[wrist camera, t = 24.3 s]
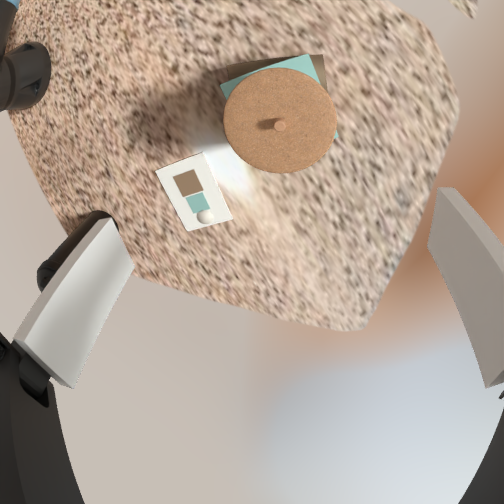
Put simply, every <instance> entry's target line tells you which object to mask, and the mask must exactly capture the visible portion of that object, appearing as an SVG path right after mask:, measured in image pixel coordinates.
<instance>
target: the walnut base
mask: <svg viewBox="0 0 504 504" xmlns="http://www.w3.org/2000/svg"><path fill="white" fill-rule="evenodd" d="M309 56H310V59H311V61H312V64H313V66H314V69H315V71H316V74H317V76H318V79H319V82H320V84H321V86H322V87H323V88H324V89H325V90H326V91H327V82H326V74H325V67H324V60H323V55H309ZM295 57H298V56H292V57H282V58H273V59H265V60H258V61H251V62H245V63H239V64H233V65H228V66H227V71H228V76H229V81H230V80H233V79H235V78H237V77H240V76H243V75H245V74H248V73H250V72H253V71H256V70H259V69H261V68H264V67H267V66H270V65H273V64H276V63H279V62H282V61H285V60H288V59H292V58H295ZM327 93H328V91H327Z"/></svg>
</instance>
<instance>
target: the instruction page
mask: <svg viewBox="0 0 504 504" xmlns="http://www.w3.org/2000/svg"><path fill="white" fill-rule="evenodd" d="M155 172H156V174H157V176H158V178H159V180H160V182H161V184H162V186H163V187H164V189H165V191H166V193H167V195H168V197H169V199H170V201H171V203H172V204H173V206H174V208H175V210H176V212H177V214H178V216H179V217H180V219H181V221H182V223H183V225H184V227H185V228H186V230H187V231H191V230H195V229H198V228H202V227H206V226H209V225H213V224H217V223H221V222H224V221H228V220H232V219H233V217H232V215H231V213H230V211H229V208H228V206H227V204H226V202H225V200H224V197H223V195H222V193H221V191H220V189H219V186H218V184H217V182H216V180H215V177H214V175H213V173H212V171H211V168H210V166H209V164H208V162H207V160H206V157H205V155H204V153H203V152H202V153H199V154H196V155H194V156H191V157H188V158H186V159H183V160H181V161H178V162H175V163H173V164H170V165H168V166H165V167H163V168H161V169H158V170H156V171H155Z"/></svg>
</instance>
